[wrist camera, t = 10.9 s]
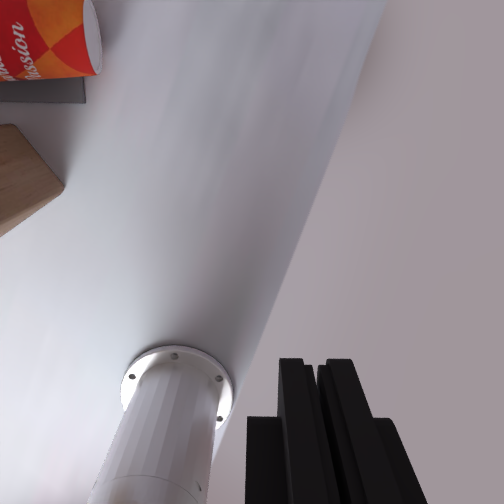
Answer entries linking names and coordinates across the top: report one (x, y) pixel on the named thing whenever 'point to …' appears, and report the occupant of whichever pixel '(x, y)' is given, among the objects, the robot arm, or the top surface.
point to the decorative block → (22, 179)
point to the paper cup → (49, 39)
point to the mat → (44, 90)
